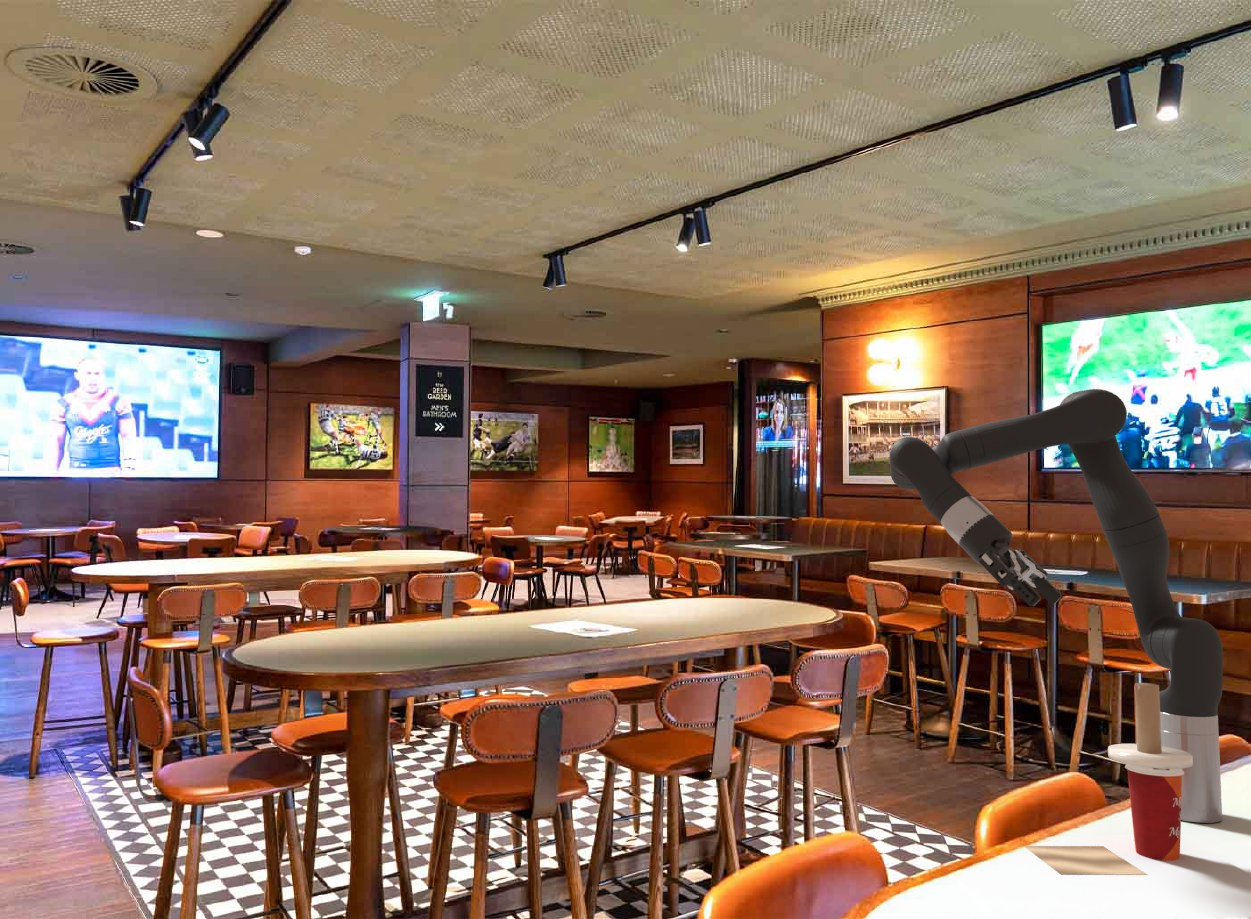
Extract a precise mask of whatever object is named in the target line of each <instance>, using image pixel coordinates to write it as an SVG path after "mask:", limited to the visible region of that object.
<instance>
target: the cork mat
mask: <svg viewBox="0 0 1251 919" xmlns="http://www.w3.org/2000/svg"><path fill="white" fill-rule="evenodd" d="M1023 847H1024V848H1025V849H1027V850H1028V851H1029V852H1030V853H1032V854H1033V855H1034V856H1036V858H1039V860H1041V861H1042V862H1044V863H1045V864H1046V865H1047V866H1049V867H1050V868H1051V869H1053V870H1054V871H1055V872H1056V873H1058V874H1059V875H1061V876H1062V875H1063V876H1064V875H1065V876H1071V875H1073V876H1075V875H1077V876H1080V875H1081V876H1083V875H1084V876H1088V875H1090V876H1091V875H1092V876H1093V875H1094V876H1099V875H1100V876H1101V875H1102V876H1107V875H1108V876H1114V875H1115V876H1148V875H1149V874H1148V873H1146V872H1144V871H1143V870H1142V869H1139V867H1136V866H1135V865H1133V864H1132V863H1130V862H1128V861H1127V860H1125V859H1124V858H1122V857H1121V856H1120V855H1117V853H1115V852H1113V851H1112V850H1110V849H1109V848H1107V847H1105V846H1104V845H1102V846H1100V845H1094V846H1093V845H1089V846H1088V845H1023Z"/></svg>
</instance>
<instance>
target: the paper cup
mask: <svg viewBox="0 0 1251 919" xmlns="http://www.w3.org/2000/svg"><path fill="white" fill-rule="evenodd" d="M1124 768H1125V769H1126V770H1127V779H1128V789H1129V790H1128V791H1129V798H1130V809H1131V810H1130V811H1131V820H1132V829H1133V830H1132V832H1133V838H1134V839H1133V842H1134V847H1135V849H1134V850H1135V852H1136V854H1138V855H1139V856H1141V857H1144V858H1148V859H1152V860H1155V861H1156V860H1158V861H1163V862H1164V861H1167V862H1168V861H1170V862H1173V861H1177V860H1179V859H1180V857H1181V834H1182V833H1181V829H1182V828H1181V827H1182V826H1181V825H1182V820H1181V792H1182V775H1183V774H1184V771H1183V770H1182V769H1160V768H1149V767H1141V766H1135V765H1129V764H1125V766H1124Z"/></svg>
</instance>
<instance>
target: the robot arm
mask: <svg viewBox="0 0 1251 919" xmlns="http://www.w3.org/2000/svg"><path fill="white" fill-rule="evenodd" d="M1127 411H1128V410H1127V407H1126V405H1125V403H1124V401H1123V400H1122V398H1120V397H1119V396H1118V395H1117V394H1115V393H1113V392H1112V391H1109V390H1105V389H1101V388H1092V389H1091V388H1090V389H1084V390H1079V391H1074V392H1072V393H1070V394H1068V395H1066V397H1064V398H1063V399H1062V401H1061V402H1060V404H1059V405H1057V406H1055V407H1052V408H1051V407H1050V408H1049V409H1045V410H1042V411H1039V412H1035V413H1032V414H1031V413H1030V414H1026V415H1022V416H1018V417H1013V418H1008V419H1003V420H996V421H992V422H986V423H982V424H978V425H974V426H970V427H967V428H963V429H960V430H955V431H952V432H949V433H946V434H945V435H944V436H943V437H942V438H941V439H940V441H939V442H938V443H937V445H935V446H932V447H931V446H930V445H929V444H928V443H926V442H925V441H923V440H922V439H920V438H918V437H913V436H905V437H901V438H899V439H897V440H896V441H895V442H894V443H893V445H892V446H891V448H890V452H889V469H890V470H889V472H890V473H889V474H890V478H891V480H892V481H893V483H894V484H895V485H896V486H898V487H899V488H901V489H905V490H916V491H917V492H918V494H919V496H920V500H921V502H922V504H923V506H924V508H925V510H927V511H928V513H930V514H931V515H932V516H933V518H935V520H937V522H938V523H940V524H941V525H942V527H943V528H944V529H945V531H946V532H947V534H948V535H949V536H950V537H951V538H952V539H953V541H954V542H955V543H956V544H958V546H960V547H961V548H962V550H964V552H965V553H966V554H968V556H970V558H971V559H972V560H973V561H974V562H975V563H976V564H979V565H982V566H983V567H984V568H985V570H986V571H987V572H988V573H990V574H989V575H991V576H992V577H993V579H995V580H996V581H997V583H998V584H1000V586H1001V587H1003V588H1006V587H1007V588H1008V589H1010V590H1011V591H1014V592H1015V593H1016V595H1018V596H1019V597H1020V598H1021V599H1022V600H1023V601H1024V602H1025V604H1027V605H1028V606H1029V607H1035V606H1036V605H1037V604H1038V603H1039V602H1041V600H1042V597H1043V598H1044V599H1045V600H1046V601H1047V602H1048V603H1049V604H1051V605H1055V604H1057V602H1059V600H1061V599H1062V598H1063V596H1062V593H1061V592H1060V591H1059V590H1058V589H1057V588H1056V587H1055V586H1054V585H1053V584H1052V582H1050V581H1049V580H1048V579H1047V576H1048V575H1049V573H1048V572H1047V571H1046V570H1045V569H1044V568H1043V567H1042V566H1041V565H1039V564H1038V562H1036V561H1035V559H1033V557H1031V556H1030V555H1029V554H1028V553H1027V551H1025V550H1024V549H1022V548H1020V549H1019V550H1018V549H1013V548H1012V547H1011V546H1010V542H1011V541H1012V539H1013V533H1012V531H1011V530H1010V529H1009V528H1008V527H1007V526H1006V525H1005V524H1004V523H1003V522H1002V521H1000V520H999V518H998V517H996V515H994V514H993V513H992V512H991V510H990V509H988V508H987V506H985V505H984V504H983V503H982V502H980V501H979V500H978V499H976V498H975V497H974V496H973V495H972V494H971V493H970V492H969V491H968V490H967V489H966V488H965V487H964V486H963V485H962V484H961V483H959V482H958V481H957V480H956V479H955V478H954V477H953V475H955V474H956V473H958V472H961V471H966V470H970V469H974V468H978V467H982V466H985V465H989V464H993V463H996V462H999V461H1003V460H1007V459H1010V458H1013V457H1015V456H1020V455H1024V454H1027V453H1030V452H1034V451H1037V450H1043V449H1046V448H1052V447H1056V446H1062V445H1068V447H1069V449H1070V451H1071V452H1072V454H1073V456H1074V458H1075V461H1076V462H1077V464H1078V466H1079V468H1080V471H1081V473H1082V476H1083V478H1084V481H1085V483H1086V487H1087V490H1088V493H1089V496H1090V498H1091V502H1092V505H1093V507H1094V510H1095V511H1096V515H1097V517H1098V518H1097V519H1098V520H1099V523H1100V527H1101V529H1102V532H1103V534H1104V537H1105V540H1106V543H1107V545H1108V548H1109V549H1110V552H1111V554H1112V556H1113V559H1114V560H1115V563H1116V566H1117V568H1118V571H1119V575H1120V577H1121V579H1122V583H1123V584H1124V587H1125V590H1126V592H1127V595H1128V597H1129V602H1130V604H1131V608H1132V611H1133V616H1134V619H1135V622H1136V627H1137V631H1138V634H1139V638H1140V641H1141V644H1142V647H1143V649H1144V651H1145V653H1146V655H1147V656H1148V658H1149V659H1150V660H1151V661H1152V662H1153V663H1154V664H1155V665H1158V666H1160V667H1162V668H1164V669H1169V670H1170V681H1169V685H1168V687H1166V689H1164V690H1159V695H1160V720H1161V745H1162V746H1164V747H1170V748H1175V749H1179V750H1183V751H1186V752H1188V753H1190V754H1192V756H1193V766H1191V767H1188V768H1181V769H1182V770H1183V771H1184V774H1183V775H1182V792H1181V821H1185V822H1192V823H1201V824H1202V823H1206V824H1207V823H1208V824H1210V823H1211V824H1213V823H1218V822H1221V821H1223V806H1222V781H1221V779H1222V778H1221V777H1222V776H1221V760H1220V754H1221V753H1220V736H1219V716H1218V714H1219V713H1218V711H1219V710H1218V709H1219V708H1218V707H1219V704H1220V701H1221V699H1222V695H1223V685H1224V684H1223V674H1224V673H1223V672H1224V671H1223V670H1224V668H1223V667H1224V666H1223V665H1224V654H1223V653H1224V652H1223V643H1222V640H1221V637H1220V634H1219V633H1218V631H1217V628H1215V626H1214V625H1212V624H1211V623H1209V622H1208V621H1206V620H1203V619H1198V618H1193V617H1183V616H1181V614H1180V613H1179V610H1178V609H1177V606H1176V605H1175V602H1174V599H1173V597H1172V595H1171V593H1170V589H1169V585H1168V567H1169V559H1170V539H1169V536H1168V533H1167V531H1166V528H1165V525H1164V522H1163V520H1162V517H1161V514H1160V513H1159V512H1160V511H1159V510H1158V508H1157V506H1156V504H1155V502H1154V501H1153V498H1152V497H1151V495H1150V494H1149V492H1148V491H1147V489H1146V488H1145V486H1144V485H1143V484H1142V483H1141V481H1140V480H1139V479H1138V478H1137V476H1136V475H1135V473H1134V472H1133V471H1132V469H1131V468H1130V466H1129V464H1128V463H1127V462H1126V459H1125V457H1124V456H1123V453H1122V450H1121V448H1120V445H1119V442H1118V439H1117V437H1116V435H1118V434H1119V433H1120V432H1121V431H1122V429H1123V428H1124V426H1125V425H1126V421H1127V415H1128V412H1127ZM1034 588H1035V589H1034Z"/></svg>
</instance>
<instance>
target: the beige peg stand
mask: <svg viewBox="0 0 1251 919" xmlns="http://www.w3.org/2000/svg"><path fill="white" fill-rule="evenodd" d="M1159 692H1160V684H1156V683H1150V682H1149V683H1148V682H1135V683H1134V699H1135V700H1134V702H1135V725H1136V743H1118V744H1117V743H1116V744H1111V745H1109V746H1107V755H1108V758H1109V759H1110V760H1112V761H1114V762H1118V763H1121V764H1125V765H1126V764H1129V765H1135V766H1141V767H1149V768H1160V769H1181V768H1188V767H1191V766H1193V756H1192V754H1190V753H1188V752H1186V751H1183V750H1179V749H1175V748H1170V747H1164V746H1162V745H1161V720H1160V695H1159Z"/></svg>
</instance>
